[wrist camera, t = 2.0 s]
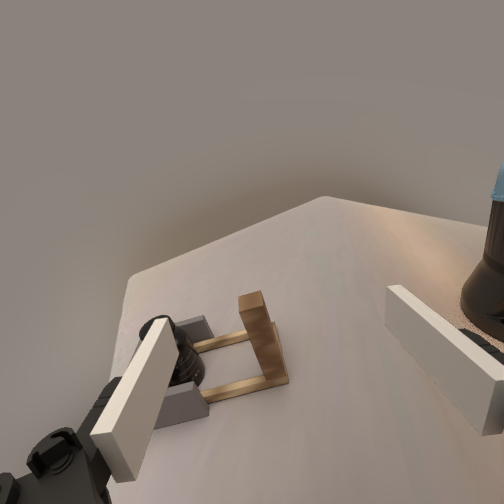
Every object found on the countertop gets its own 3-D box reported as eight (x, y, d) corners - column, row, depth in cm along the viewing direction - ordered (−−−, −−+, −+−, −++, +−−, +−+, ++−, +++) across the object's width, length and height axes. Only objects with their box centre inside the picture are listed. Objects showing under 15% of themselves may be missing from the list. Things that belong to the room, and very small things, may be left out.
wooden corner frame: (147, 418, 36) (93, 352, 30) (165, 357, 46) (127, 297, 40) (288, 382, 35) (263, 305, 29) (276, 327, 45) (255, 261, 38)
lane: (130, 435, 35) (107, 411, 32) (157, 353, 48) (143, 331, 45) (208, 415, 34) (192, 389, 32) (214, 338, 47) (203, 315, 44)
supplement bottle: (158, 390, 40) (121, 339, 35) (185, 356, 45) (157, 306, 40) (187, 404, 37) (151, 349, 31) (214, 365, 41) (186, 312, 36)
